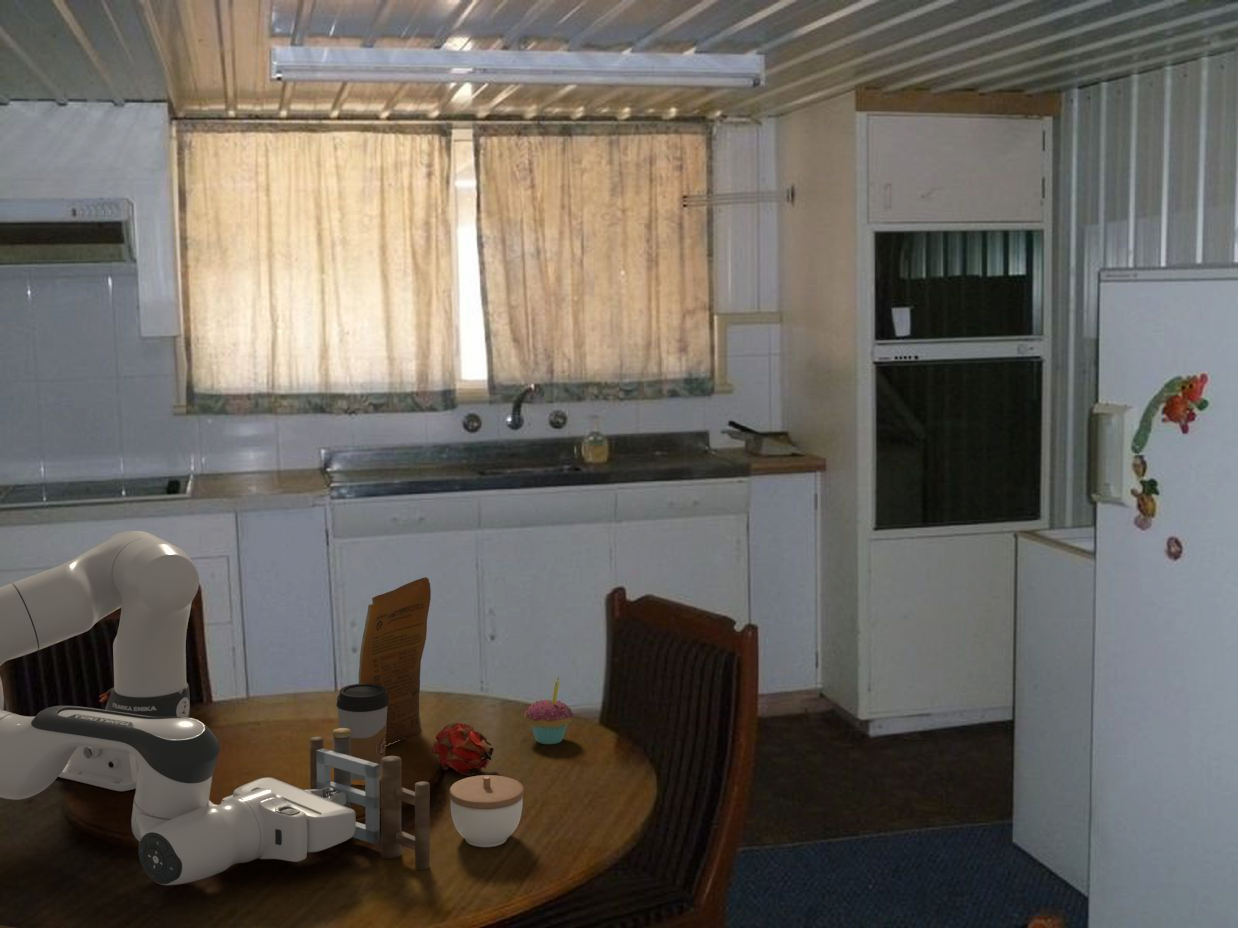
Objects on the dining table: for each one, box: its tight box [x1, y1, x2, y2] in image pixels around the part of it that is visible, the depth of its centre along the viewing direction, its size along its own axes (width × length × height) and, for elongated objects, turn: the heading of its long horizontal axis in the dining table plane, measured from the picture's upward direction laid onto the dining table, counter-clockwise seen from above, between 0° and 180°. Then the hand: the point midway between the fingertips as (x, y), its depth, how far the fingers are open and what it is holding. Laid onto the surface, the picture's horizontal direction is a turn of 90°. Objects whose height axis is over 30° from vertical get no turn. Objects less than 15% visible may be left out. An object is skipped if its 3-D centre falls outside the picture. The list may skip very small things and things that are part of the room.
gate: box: [316, 747, 381, 845], centre depth 196 cm, size 11×1×12 cm, turn 57°
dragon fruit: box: [430, 721, 494, 777], centre depth 225 cm, size 8×8×12 cm
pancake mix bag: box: [358, 576, 432, 745], centre depth 238 cm, size 7×19×28 cm, turn 148°
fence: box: [309, 727, 431, 871], centre depth 196 cm, size 27×5×15 cm, turn 52°
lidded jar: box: [449, 774, 525, 848], centre depth 198 cm, size 11×11×9 cm
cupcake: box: [523, 676, 574, 745], centre depth 240 cm, size 9×8×12 cm
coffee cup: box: [336, 683, 389, 781], centre depth 220 cm, size 8×8×15 cm
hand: (338, 794), depth 196 cm, fingers closed
